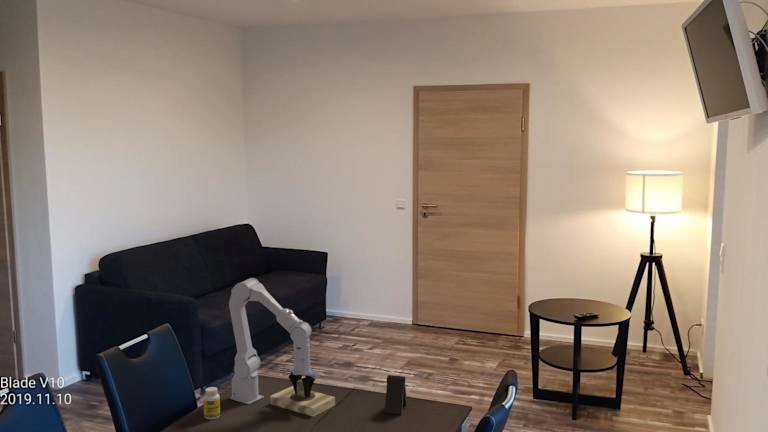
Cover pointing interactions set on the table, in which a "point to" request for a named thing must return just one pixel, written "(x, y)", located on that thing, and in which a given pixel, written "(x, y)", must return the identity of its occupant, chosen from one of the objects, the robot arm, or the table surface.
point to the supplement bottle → (211, 403)
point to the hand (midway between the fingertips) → (302, 394)
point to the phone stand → (395, 395)
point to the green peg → (300, 390)
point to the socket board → (302, 402)
